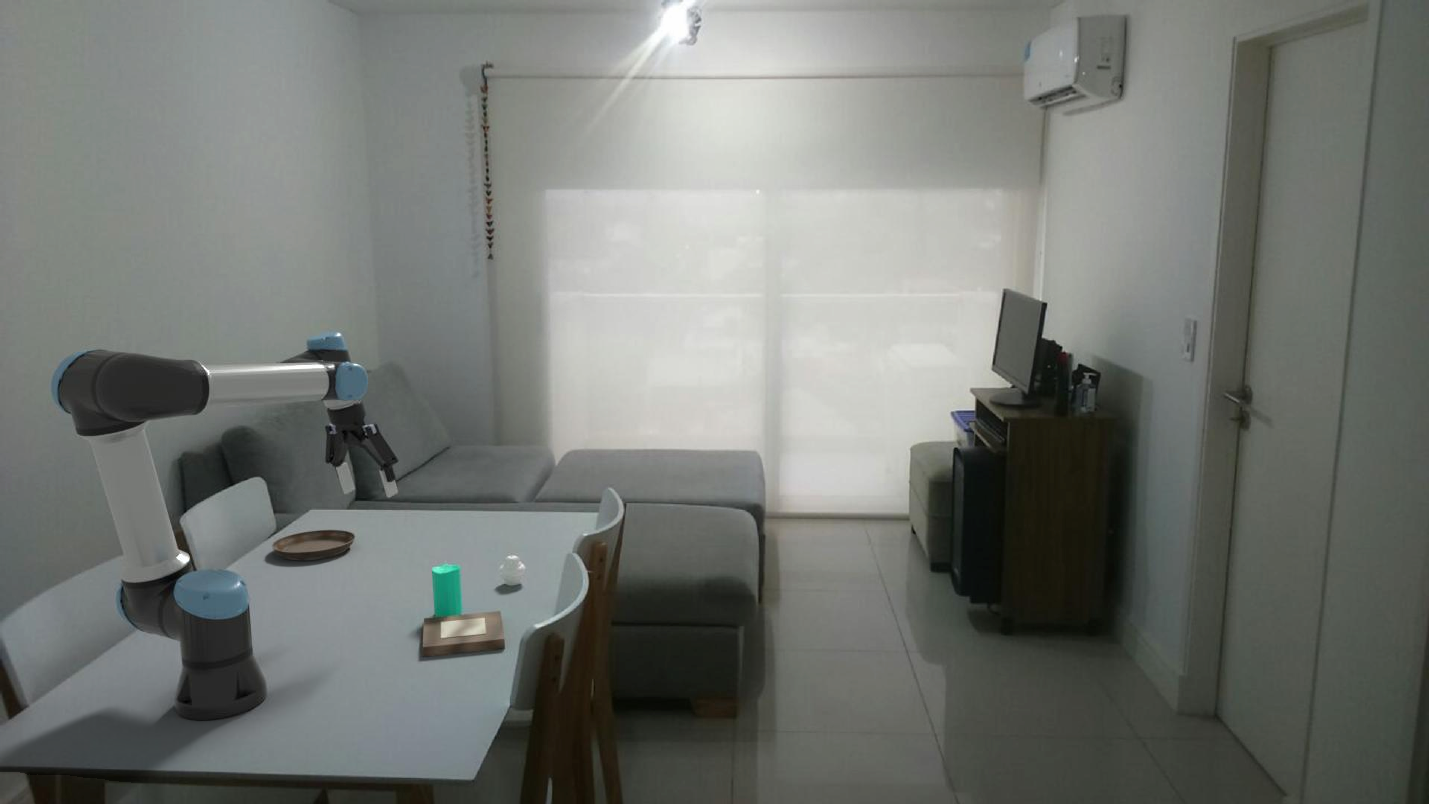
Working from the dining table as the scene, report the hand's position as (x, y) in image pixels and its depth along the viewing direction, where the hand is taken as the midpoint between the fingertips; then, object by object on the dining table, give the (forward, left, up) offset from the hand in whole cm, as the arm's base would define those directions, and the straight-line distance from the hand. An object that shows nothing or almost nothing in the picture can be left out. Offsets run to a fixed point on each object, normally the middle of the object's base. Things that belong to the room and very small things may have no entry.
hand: (370, 493), depth 234 cm
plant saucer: (-19, +47, -27) cm, 58 cm away
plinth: (+18, -24, -26) cm, 40 cm away
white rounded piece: (+30, +7, -26) cm, 41 cm away
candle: (+15, -9, -26) cm, 32 cm away
